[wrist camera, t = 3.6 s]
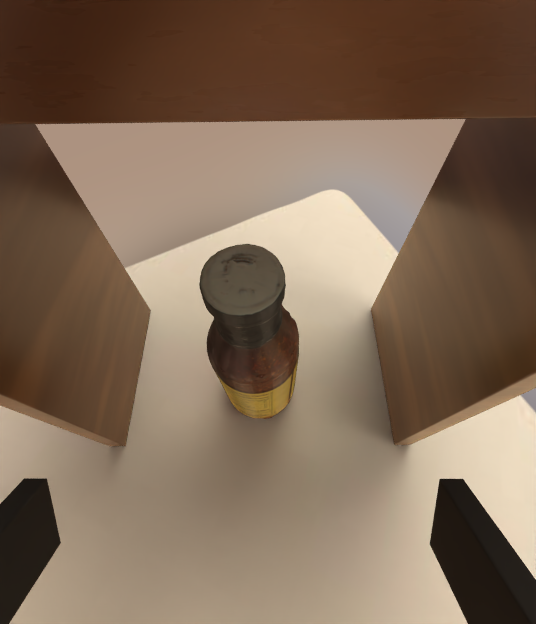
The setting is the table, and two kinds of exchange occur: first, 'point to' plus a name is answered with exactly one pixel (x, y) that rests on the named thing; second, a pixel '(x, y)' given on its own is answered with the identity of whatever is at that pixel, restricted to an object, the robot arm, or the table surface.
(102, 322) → the shelf
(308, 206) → the table surface
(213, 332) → the sauce bottle
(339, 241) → the table surface
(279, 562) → the table surface
